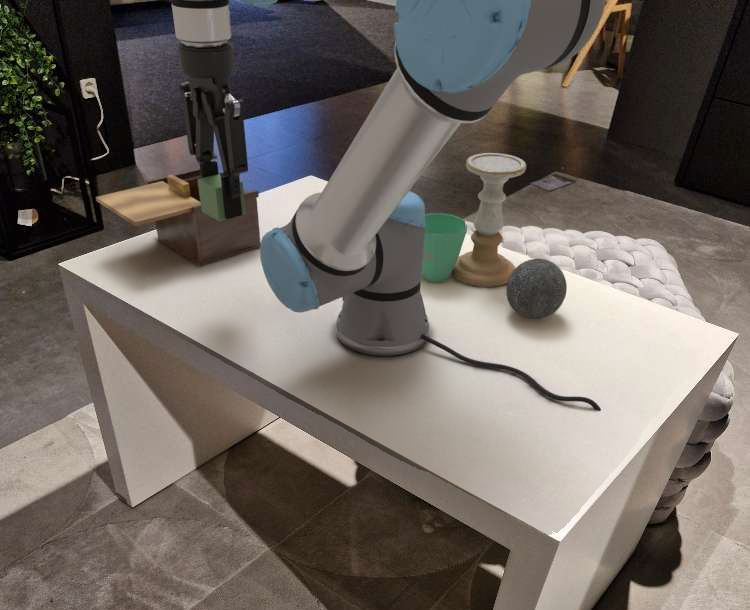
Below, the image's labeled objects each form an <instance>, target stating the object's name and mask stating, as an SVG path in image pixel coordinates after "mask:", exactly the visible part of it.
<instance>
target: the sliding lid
mask: <svg viewBox="0 0 750 610" xmlns="http://www.w3.org/2000/svg"><path fill="white" fill-rule="evenodd" d="M166 176H167V180H168V184H167V183H165V182H163V181H161V182H157V183H152V184H148V185H147V184H143V185H141V186H137V187H132V188H127V189H124V190H120V191H115V192H110V193H106V194H102V195H99V196H95V200H96V202H97V203H99V204H100V205H102V206H103V207H105V208H107V209H108V210H109V211H111V212H112V213H114V214H116V215H117V216H118V217H120V218H122V219H123V220H125V221H126V222H128V223H129V224H131V225H132V226H134V227H140V226H143V225H147V224H151V223H155V221H159V220H162V219H166V218H170V217H174V216H177V215H181V214H185V213H189V212H192V206H196V205H200V204H201V202H199V201H197V200H196V199H194V198H192V197H191V195H190V188H189V183H187V182H185V181H183V180H181V179H180V178H178V177H176V176H174V175H173V174H168V175H166Z"/></svg>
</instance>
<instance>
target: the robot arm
mask: <svg viewBox="0 0 750 610" xmlns="http://www.w3.org/2000/svg"><path fill="white" fill-rule="evenodd" d="M239 1H240V2H244V3H245V4H247V5H253V6H254V5H264V6H268V5H272V4H275V3H277V2H278V1H279V0H239ZM367 1H370V2H374V3H378V4H384V5H389V6H392V7H394V11H395V13H397V14H398V15H397V17H398V19H397V20H398V21H397V22H395V23H394V24H393V33H394V42H395V43H394V48H393V49H394V50H393V51H394V53H393V55H394V62H395V64H396V69H395V70H394V72H393V74H392V75H391V78H390V79H389V81H387V84H386V85H385V87H384V88H383V90H382V92H381V94H380V95H379V97H378V99H377V100H376V102H375V103H374V105H373V107H372V108H371V110H370V112H369V113H368V115H367V117H366V119H365V120H364V122H363V124H362V125H361V126H360V129H359V130H358V132H357V134H356V135H355V137H354V139H353V140H352V141H351V144H350V145H349V147H348V148H347V150H346V152H345V153H344V154H343V156H342V158H341V159H340V162H339V163H338V165H337V166H336V167H335V170H334V171H333V173H332V175H331V176H330V178H329V179H328V181H327V183H326V185H325V186H324V188H323V189H322V191H321V192H316V193H313V194H311V195H308V196H307V197H306V198H304V199H303V201H302V202H301V203H300V204H299V206H298V207H297V210H296V211H295V213H294V214H293V216H292V217H291V220H290V221H289V222H288V223H287V224H285V225H284V226H281V227H277V226H276V227H274V228H272V229H271V230H269V231H267V232H265V234H264V235H263V236H262V238H261V239H260V243H261V245H260V247H259V256H260V257H259V258H260V264H261V266H262V271H263V274H264V277H265V280H266V282H267V284H268V286H269V287H270V289H271V291H272V293H273V294H274V296H275V297H276V298H277V300H278V301H279V302H280V303H281V304H282V305H283V306H284V307H285V308H287V309H289V310H290V311H292V312H294V313H299V314H300V313H301V314H303V313H306V312H309V311H314V310H315V311H316V310H318V309H319V308H320V307H322V306H324V305H326V304H329V303H331V302H334V301H336V300H338V299H341V298H342V306H341V310H340V311H339V312H338V316H337V319H336V336H337V339H338V340H339V341H340V342H341V343H342V344H343V345H344V346H345V347H347V348H349V350H350V349H351V350H352V351H354V352H357V353H361V354H364V355H369V356H375V357H377V356H378V357H394V356H400V355H405V354H408V353H411V352H413V351H416V350H417V349H419V348H421V347H422V346H424V345H425V344H426V342H427V343H429V344H431V345H433V346H435V347H437V348H439V349H441V350H443V351H444V352H446V353H448V354H450V355H451V356H453V357H455V358H456V359H458V360H460V361H463V362H465V363H466V364H470V365H474V366H477V367H483V368H491V369H497V370H503V371H507V372H509V373H513V374H515V375H518V376H520V377H522V378H523V379H524V380H526V381H527V382H528V383H529V384H530V385H532V387H534V388H535V389H536V390H537V391H538V392H540V393H541V394H543V395H544V396H546V397H548V398H550V399H552V400H555V401H559V402H580V403H581V402H582V403H586V404H588V405H589V406H591V407H592V408H593V409H594V410H595V411H597V412H601V411H602V409H601V407H600V406H599V404H597V402H595V401H594V400H593V399H591V398H590V397H586V396H564V395H558V394H555V393H553V392H551V391H550V390H547V389H545V388H544V387H543V386H542V385H541V384H540V383H538V382H537V381H536V380H535V379H534V378H533V377H531V376H530V374H528V373H527V372H525V371H522V370H520V369H519V368H516V367H513V366H510V365H505V364H499V363H492V362H485V361H480V360H476V359H472V358H470V357H467V356H465V355H463V354H460V353H459V352H457V351H455V350H454V349H452V348H451V347H449V346H447V345H445V344H443V343H441V342H439V341H437V340H435V339H434V338H432V337H430V336H429V333H430V332H429V330H430V323H429V318H428V315H427V312H426V308H425V307H426V306H425V303H424V300H423V296H422V292H421V286H422V260H423V247H424V234H425V228H426V223H425V215H426V206H425V202H424V200H423V199H422V198H421V196H419V195H418V194H417V193H415V192H413V191H411V189H412V188H413V187H414V186H415V184H416V182H418V180H419V179H420V178H421V176H422V175H423V174H424V173H425V171H426V170H427V169H428V167H429V165H430V164H431V163H432V162H433V160H434V159H436V157H437V155H438V154H439V153H440V151H442V149H443V147H445V145H446V144H447V142H448V141H449V140H450V138H451V137H452V136H453V134H454V133H455V132H456V131H457V129H458V128H459V127H460V125H461V124H473V123H476V122H479V121H481V120H482V119H484V118H485V117H486V116H487V115H488V114H489V112H490V111H491V110H492V108H493V107H494V106H495V105H496V104H497V102H498V101H499V100H500V98H501V97H502V96H503V95H504V94H505V92H506V91H507V90H508V89H509V88H510V86H511V85H512V84H513V82H514V81H515V80H517V79H518V78H519V77H521V76H522V75H526V74H530V73H535V72H539V71H542V70H546V69H550V68H553V67H556V66H559V65H562V64H563V63H565V62H567V61H569V60H571V59H572V58H574V56H576V55H577V54H578V53H580V52H581V51H582V49H584V47H585V46H586V45H587V44H588V42H589V41H590V40H591V39H592V37H593V35H594V34H595V32H596V31H597V29H598V27H599V24H600V22H601V20H602V17H603V14H604V10H605V5H606V2H607V0H367ZM229 4H230V0H171V10H172V16H173V25H174V32H175V37H176V39H177V40H179V42H178V44H177V54H178V62H179V70H180V72H181V73H182V74H183V75H184V76H185V77H188V81H185V82H181V83H179V84H178V90H179V94H180V98H181V101H182V107H183V115H184V116H183V117H184V123H185V130H186V138H187V147H188V153H189V154H190V155H191V156H194V157H195V160H196V162H197V163H198V164H199V168H200V172H201V178H205V177H209V176H213V175H217V174H220V176H221V185H222V192H223V201H224V210H225V218H226V219H231V218H235V217H238V216H241V215H242V206H241V190H240V180H241V178H240V175H241V174H244V173H248V171H249V164H248V163H249V162H248V152H247V151H248V150H247V139H246V131H245V129H246V128H245V119H244V118H245V117H244V116H245V108H246V105H245V101H244V99H241V98H240V99H236V98H235V97H234V96H233V95H232V93H233V92H232V89H231V86H230V82H229V78H230V77H231V76H232V75H233V74H234V73H235V70H236V66H235V55H234V45H233V44H232V42H231V41H229V40H230V39H231V38H232V35H233V34H232V26H231V11H230V6H229ZM215 141H216V145H217V149H218V155H219V158H220V164H221V168H222V170H223V171H222V172H219V165H218V161H216V160H217V159H218V155H216V153H215V150H214V149H215V148H214V147H215Z"/></svg>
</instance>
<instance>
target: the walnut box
mask: <svg viewBox="0 0 750 610" xmlns="http://www.w3.org/2000/svg"><path fill="white" fill-rule="evenodd" d="M172 175H174V176H176V177H178V178H180V179H181V180H183V181H185V182H187V183H189V188H190V195H191V197H192V198H194V199H196V200H197V201H199V202H200V195H199V187H198V179H201V172H200V167H199V168H194V169H190V170H186V171H185V170H184V171H182V172H178V173H173V174H172ZM167 176H168V175H165V176H160V177H156V178H152V179H148V180H147V179H146V180H145V185H148V184H152V183H157V182H161V181H163V182H165V183H167V184H168V180H167ZM243 191H244V202H245V214H242V215H241V216H238V217H235V218H231V219H225V220H222V221H218V220H216V219H214V218H212V217H211V216H209V215H207V214H205V213H203V212H202V210H201V204H200V205H196V206H192V212H189V213H185V214H181V215H177V216H174V217H170V218H166V219H162V220H159V221H155V222H154V224H155V229H156V234H157V240H159V241H160V242H162V243H163V244H165V245H166V246H168V247H170V248H171V249H173V250H175V251H177V252H178V253H179V254H180V255H182V256H184V257H186V258H187V259H189V260H190V261H192V262H193V263H195V264H196V265H198V266H200V267H201V266H204V265H207V264H210V263H213V262H217V261H220V260H223V259H226V258H229V257H232V256H233V257H234V256H236V255H239V254H243V253H246V252H249V251H252V250H255V249H260V245H261V233H260V232H261V231H260V219H259V209H258V198H259V197H260V196H259V190H257V189H253V190H249V191H248V190H246V189H244V188H243Z"/></svg>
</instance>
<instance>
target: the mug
mask: <svg viewBox="0 0 750 610" xmlns="http://www.w3.org/2000/svg"><path fill="white" fill-rule="evenodd" d="M425 223H426V228H425V234H424V247H423V260H422V273H421V276H422V277H423V279H424V280H426V281H428V282H431V283H442V282H445V281H447V280H448V279H449V278H450V276H451V275H452V273H451V272H452V270H453V268H454V266H455V264H456V261H457V259H458V257H459V256H460V254H461V250H462V247H463V243H464V241H465V238H466V234H467V231H468V225H467V224H466V221H465V220H464V219H463V218H461V217H459V216H456V215H453V214H448V213H437V212H436V213H435V212H434V213H427V214H426V213H425Z"/></svg>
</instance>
